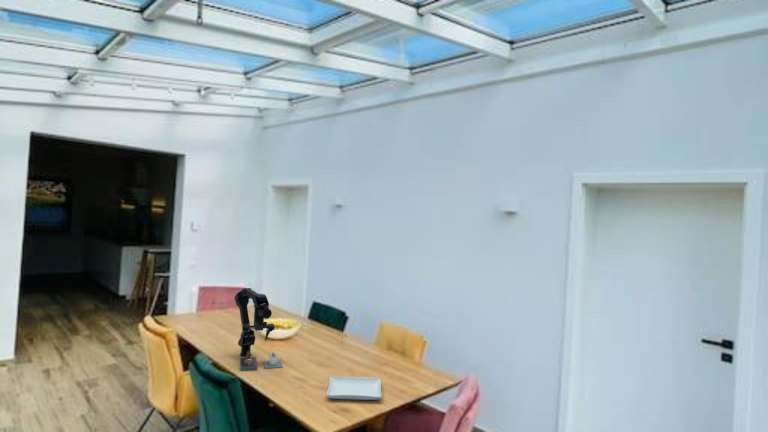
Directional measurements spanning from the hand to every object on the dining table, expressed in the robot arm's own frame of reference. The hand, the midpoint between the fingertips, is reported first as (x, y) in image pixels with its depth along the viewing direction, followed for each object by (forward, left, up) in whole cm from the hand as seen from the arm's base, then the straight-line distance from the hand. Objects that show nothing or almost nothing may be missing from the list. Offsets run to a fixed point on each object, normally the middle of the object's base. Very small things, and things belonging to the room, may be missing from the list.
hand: (257, 341), depth 278 cm
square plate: (+58, +46, -13) cm, 75 cm away
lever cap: (+8, +9, -11) cm, 17 cm away
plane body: (+8, -5, -12) cm, 15 cm away
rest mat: (+8, +9, -12) cm, 17 cm away
